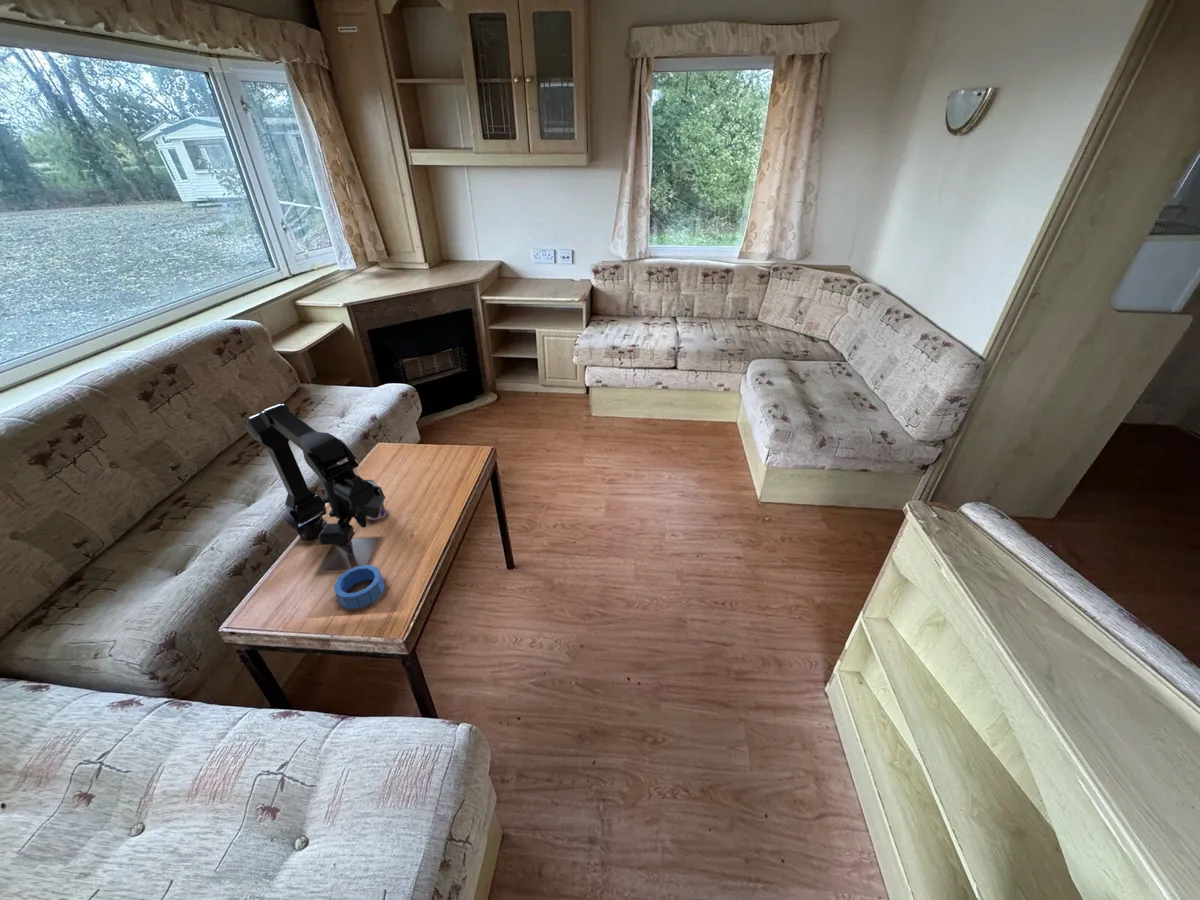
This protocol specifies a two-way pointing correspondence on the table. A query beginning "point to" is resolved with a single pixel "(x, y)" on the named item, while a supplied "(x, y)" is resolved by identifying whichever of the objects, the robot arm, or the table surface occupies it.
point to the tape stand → (349, 555)
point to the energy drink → (382, 508)
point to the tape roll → (364, 595)
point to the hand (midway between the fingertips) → (357, 539)
